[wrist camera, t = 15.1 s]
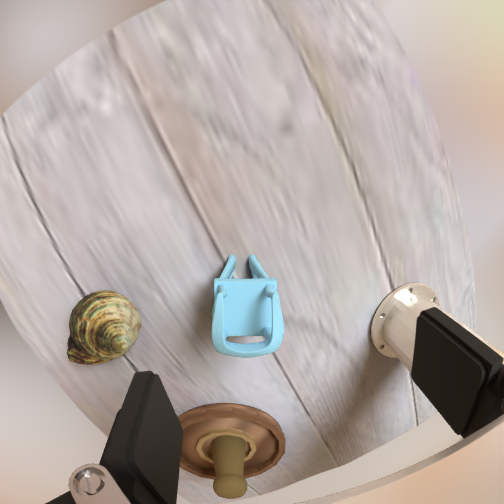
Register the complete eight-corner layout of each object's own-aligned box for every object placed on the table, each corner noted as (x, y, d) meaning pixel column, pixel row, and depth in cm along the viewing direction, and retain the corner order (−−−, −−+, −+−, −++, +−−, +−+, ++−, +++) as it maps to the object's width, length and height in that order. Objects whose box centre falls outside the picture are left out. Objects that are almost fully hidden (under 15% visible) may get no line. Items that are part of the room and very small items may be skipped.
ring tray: (301, 414, 45) (304, 424, 43) (259, 475, 50) (260, 485, 47) (182, 390, 42) (180, 400, 40) (160, 458, 46) (159, 467, 44)
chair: (273, 254, 38) (294, 288, 27) (270, 315, 40) (287, 366, 28) (210, 254, 37) (204, 288, 26) (211, 315, 39) (207, 368, 28)
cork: (213, 432, 44) (213, 484, 33) (249, 436, 45) (255, 487, 34) (208, 452, 45) (207, 500, 34) (241, 456, 46) (246, 503, 35)
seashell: (69, 274, 36) (32, 302, 27) (145, 281, 38) (122, 315, 28) (79, 341, 39) (51, 379, 29) (149, 351, 40) (133, 395, 30)
